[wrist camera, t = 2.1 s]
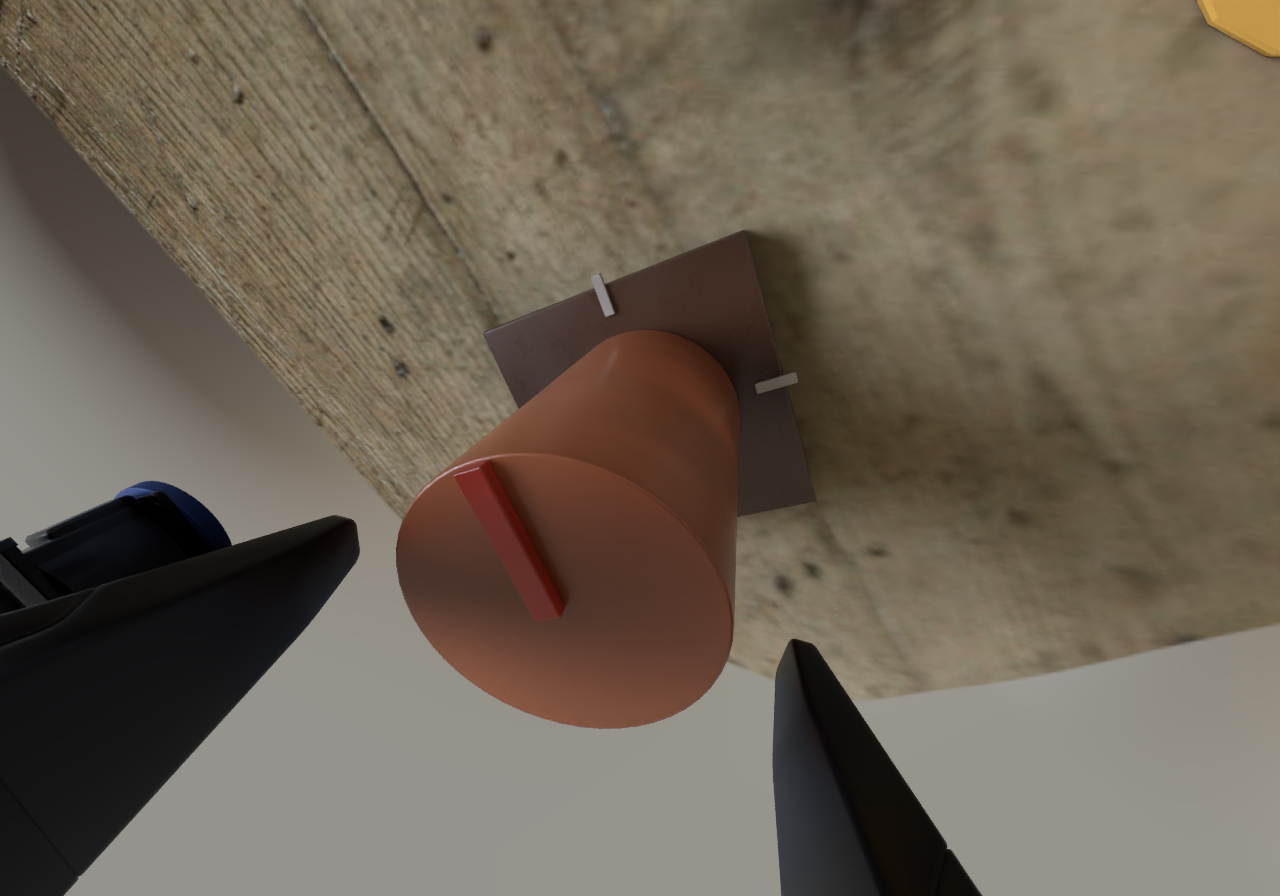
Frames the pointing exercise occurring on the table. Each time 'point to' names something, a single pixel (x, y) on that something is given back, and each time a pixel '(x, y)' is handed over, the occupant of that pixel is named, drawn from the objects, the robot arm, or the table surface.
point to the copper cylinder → (589, 540)
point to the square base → (701, 312)
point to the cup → (1247, 22)
